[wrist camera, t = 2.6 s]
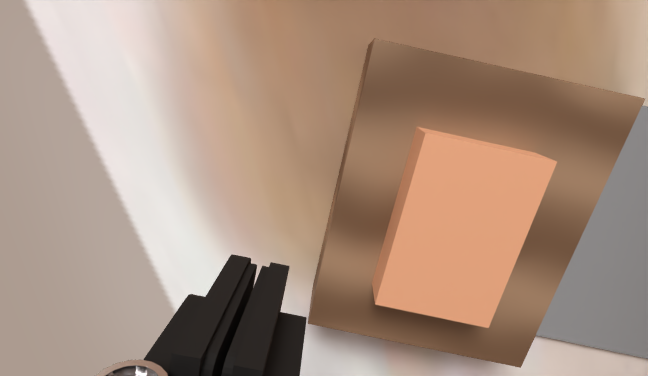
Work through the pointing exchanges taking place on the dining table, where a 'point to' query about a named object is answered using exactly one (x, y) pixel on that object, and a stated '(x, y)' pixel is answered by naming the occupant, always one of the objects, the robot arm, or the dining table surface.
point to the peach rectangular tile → (458, 226)
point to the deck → (480, 124)
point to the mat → (610, 262)
